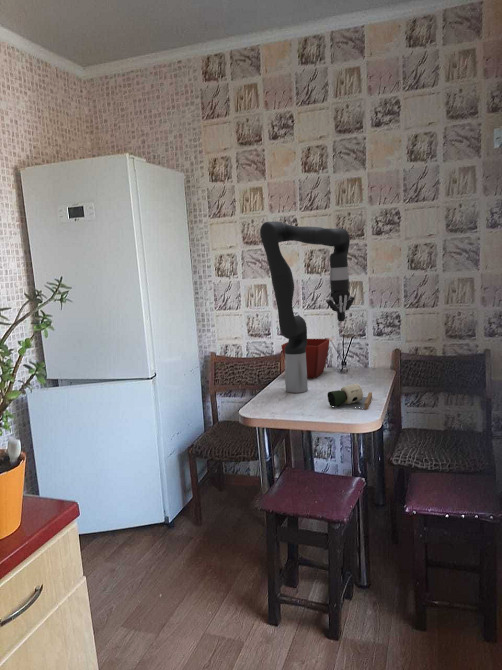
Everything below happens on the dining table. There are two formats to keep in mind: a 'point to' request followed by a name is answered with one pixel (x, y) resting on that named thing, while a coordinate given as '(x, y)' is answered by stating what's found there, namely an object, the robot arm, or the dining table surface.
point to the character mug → (345, 395)
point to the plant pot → (314, 356)
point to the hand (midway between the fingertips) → (341, 321)
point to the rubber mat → (358, 403)
